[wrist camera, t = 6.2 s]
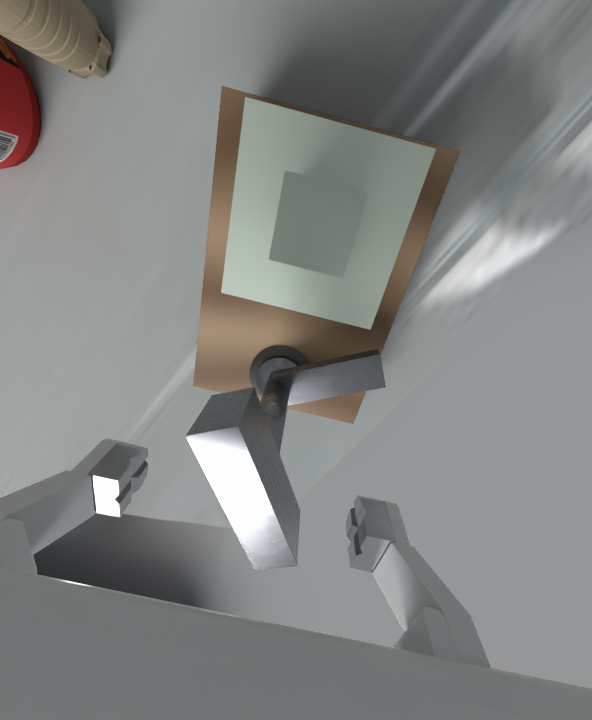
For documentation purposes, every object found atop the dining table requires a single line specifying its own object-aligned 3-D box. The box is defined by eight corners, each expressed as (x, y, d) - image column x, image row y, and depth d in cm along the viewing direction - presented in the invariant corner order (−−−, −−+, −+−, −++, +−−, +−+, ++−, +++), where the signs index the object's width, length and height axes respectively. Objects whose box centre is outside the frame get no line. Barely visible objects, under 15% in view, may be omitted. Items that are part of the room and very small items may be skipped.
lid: (250, 107, 14) (217, 43, 9) (426, 155, 14) (481, 117, 10) (227, 288, 18) (194, 309, 13) (367, 323, 18) (385, 356, 13)
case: (245, 122, 18) (220, 84, 14) (425, 170, 19) (461, 150, 14) (215, 358, 25) (192, 387, 21) (346, 389, 26) (353, 425, 21)
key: (367, 305, 17) (426, 391, 8) (383, 401, 20) (443, 552, 11) (242, 335, 19) (166, 439, 9) (273, 422, 21) (239, 571, 12)
